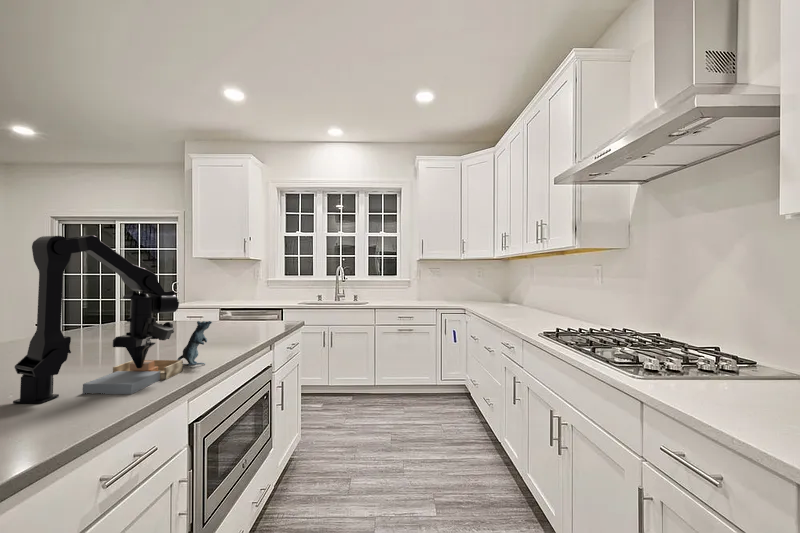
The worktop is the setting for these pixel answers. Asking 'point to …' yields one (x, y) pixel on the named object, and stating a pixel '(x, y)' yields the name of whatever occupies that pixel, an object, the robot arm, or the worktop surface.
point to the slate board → (122, 382)
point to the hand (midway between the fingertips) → (139, 368)
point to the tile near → (146, 366)
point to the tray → (164, 366)
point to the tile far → (153, 369)
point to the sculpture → (195, 343)
